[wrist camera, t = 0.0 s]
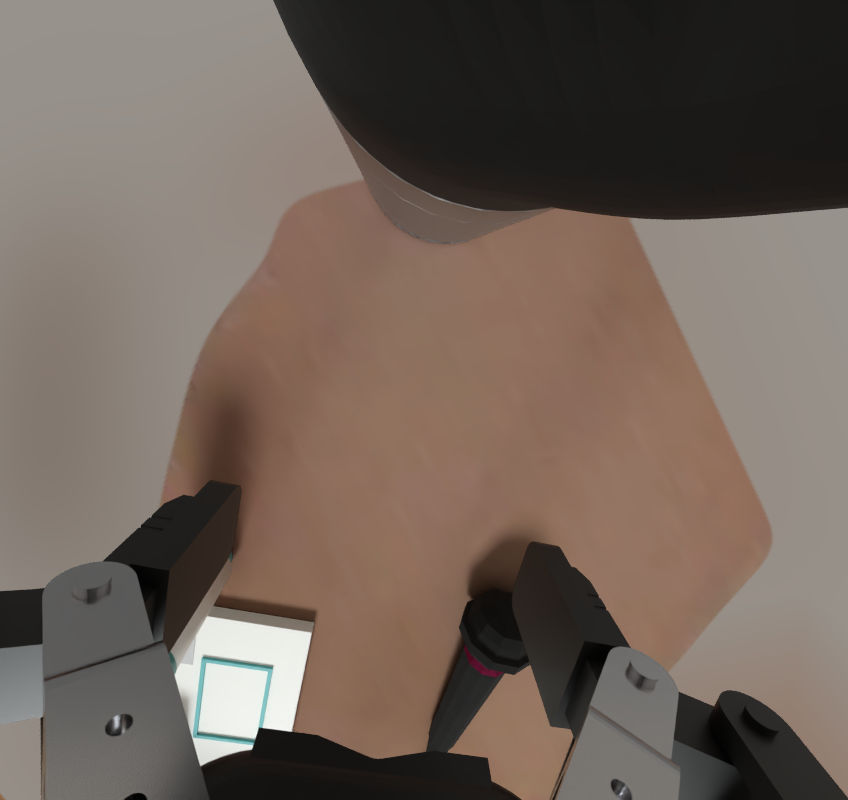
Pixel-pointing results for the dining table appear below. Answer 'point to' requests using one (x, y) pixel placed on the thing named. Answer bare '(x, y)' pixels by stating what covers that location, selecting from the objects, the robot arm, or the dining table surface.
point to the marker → (199, 616)
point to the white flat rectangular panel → (241, 679)
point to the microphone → (478, 665)
